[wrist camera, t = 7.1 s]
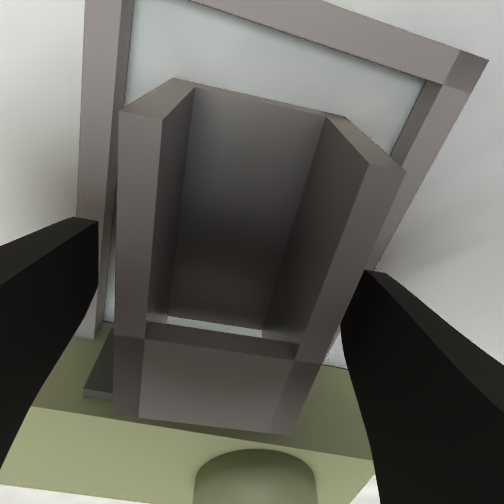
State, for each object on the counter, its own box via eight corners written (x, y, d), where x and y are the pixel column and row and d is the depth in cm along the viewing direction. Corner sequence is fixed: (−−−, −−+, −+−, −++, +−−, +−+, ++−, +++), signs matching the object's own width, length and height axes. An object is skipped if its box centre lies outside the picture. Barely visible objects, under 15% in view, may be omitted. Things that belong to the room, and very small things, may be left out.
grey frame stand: (537, 82, 10) (745, 119, 6) (315, 435, 19) (334, 556, 14) (3, -107, 8) (-271, -260, 4) (27, 388, 17) (-49, 511, 12)
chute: (173, 77, 10) (118, 110, 6) (343, 115, 11) (406, 171, 6) (153, 299, 14) (112, 414, 10) (278, 318, 15) (290, 435, 11)
